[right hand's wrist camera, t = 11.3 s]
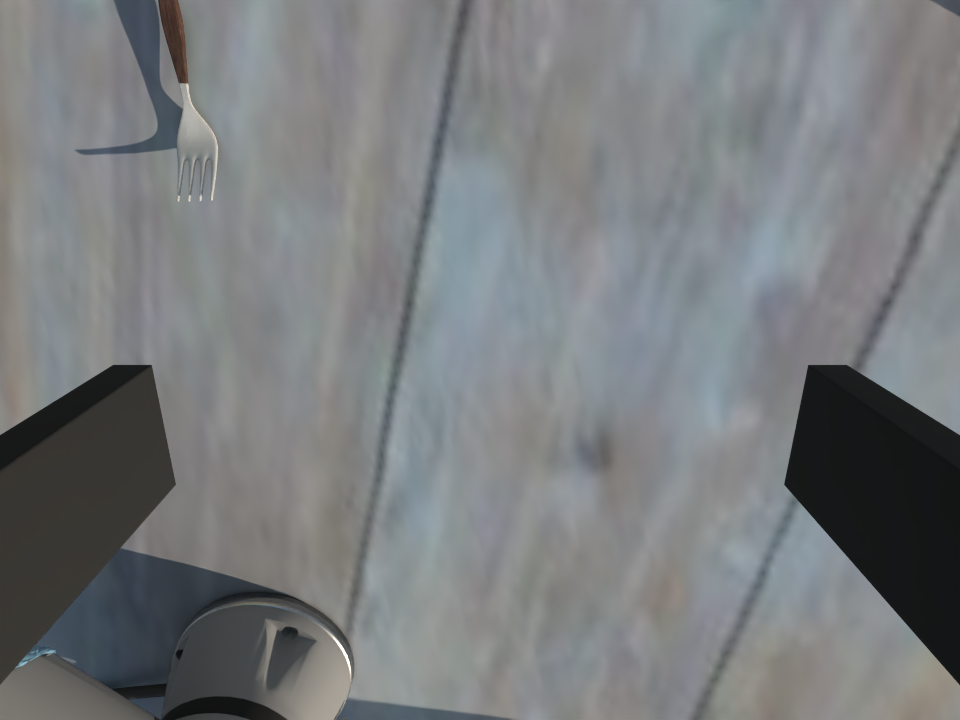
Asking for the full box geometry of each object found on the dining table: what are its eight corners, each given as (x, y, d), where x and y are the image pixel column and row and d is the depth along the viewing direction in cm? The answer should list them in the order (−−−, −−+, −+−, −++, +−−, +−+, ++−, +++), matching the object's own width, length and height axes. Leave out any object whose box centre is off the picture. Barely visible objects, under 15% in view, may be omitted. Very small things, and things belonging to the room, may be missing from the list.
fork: (178, -93, 34) (160, -106, 32) (227, 197, 40) (214, 200, 38) (132, -91, 34) (112, -105, 32) (188, 198, 40) (173, 202, 38)
